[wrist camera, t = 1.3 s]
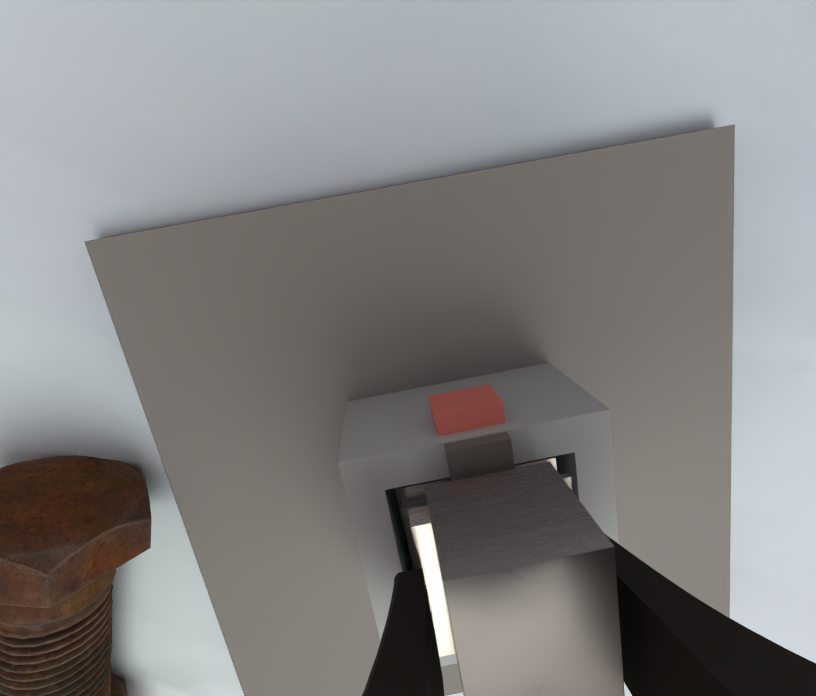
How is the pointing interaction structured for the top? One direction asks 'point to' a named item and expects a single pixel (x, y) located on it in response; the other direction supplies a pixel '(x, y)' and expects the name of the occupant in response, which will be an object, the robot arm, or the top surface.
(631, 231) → the jack base
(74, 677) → the bolt
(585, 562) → the tall silver metal block
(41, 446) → the top surface
